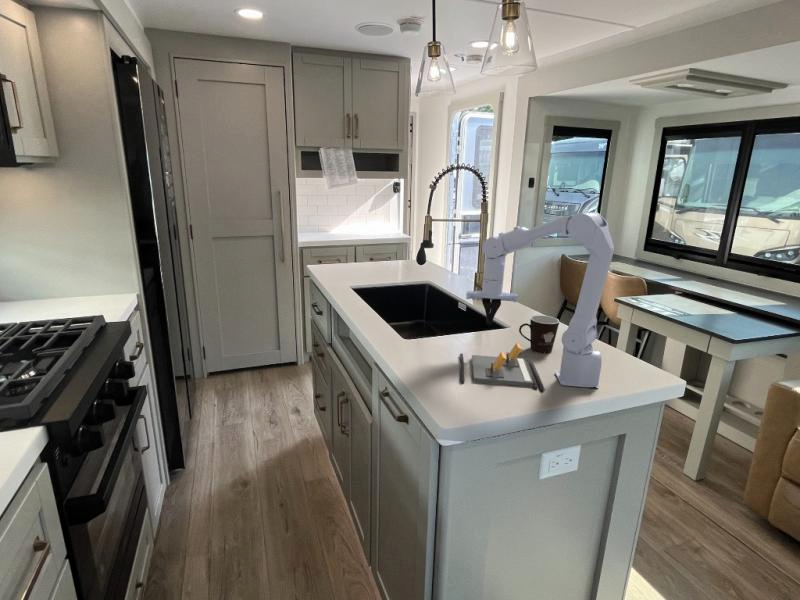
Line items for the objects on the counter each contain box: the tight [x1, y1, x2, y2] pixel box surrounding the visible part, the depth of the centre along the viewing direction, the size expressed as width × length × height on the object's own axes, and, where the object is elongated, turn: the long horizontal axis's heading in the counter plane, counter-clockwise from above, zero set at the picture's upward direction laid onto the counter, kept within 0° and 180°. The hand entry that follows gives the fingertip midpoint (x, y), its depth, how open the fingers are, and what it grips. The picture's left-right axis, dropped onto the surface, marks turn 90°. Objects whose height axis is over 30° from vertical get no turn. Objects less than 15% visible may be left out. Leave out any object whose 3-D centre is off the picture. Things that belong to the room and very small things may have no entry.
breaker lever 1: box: [492, 351, 507, 370], centre depth 121 cm, size 1×4×5 cm, turn 174°
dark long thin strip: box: [525, 360, 539, 390], centre depth 124 cm, size 1×17×1 cm, turn 173°
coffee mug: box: [518, 314, 560, 355], centre depth 143 cm, size 12×9×10 cm
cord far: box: [459, 352, 466, 384], centre depth 127 cm, size 1×19×1 cm, turn 174°
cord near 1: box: [528, 359, 546, 392], centre depth 124 cm, size 1×19×1 cm, turn 173°
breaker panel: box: [471, 351, 534, 388], centre depth 126 cm, size 15×16×3 cm
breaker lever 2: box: [508, 342, 523, 360], centre depth 129 cm, size 1×4×5 cm, turn 173°
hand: (489, 323), depth 136 cm, fingers closed
